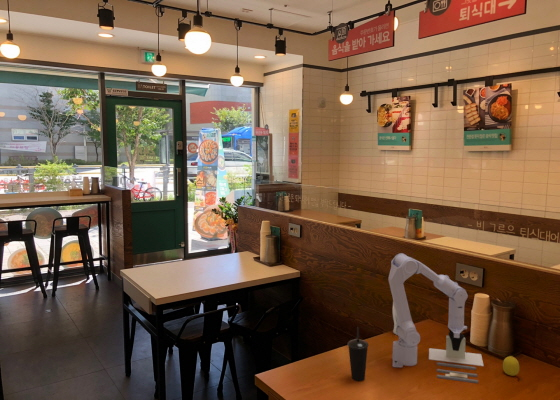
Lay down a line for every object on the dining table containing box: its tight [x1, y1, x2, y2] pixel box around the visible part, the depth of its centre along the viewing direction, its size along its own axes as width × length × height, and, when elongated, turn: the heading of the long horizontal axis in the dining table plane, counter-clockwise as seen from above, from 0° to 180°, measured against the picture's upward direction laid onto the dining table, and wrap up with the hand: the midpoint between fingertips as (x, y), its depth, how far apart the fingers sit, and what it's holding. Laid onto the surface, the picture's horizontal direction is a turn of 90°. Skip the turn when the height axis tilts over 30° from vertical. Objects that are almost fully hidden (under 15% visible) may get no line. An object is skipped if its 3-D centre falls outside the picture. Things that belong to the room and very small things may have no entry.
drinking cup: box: [347, 326, 369, 382], centre depth 169 cm, size 8×8×20 cm
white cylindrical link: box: [392, 301, 398, 336], centre depth 209 cm, size 7×7×15 cm
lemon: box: [502, 355, 520, 377], centre depth 169 cm, size 6×6×8 cm
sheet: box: [445, 335, 466, 359], centre depth 182 cm, size 7×2×8 cm, turn 71°
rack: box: [436, 361, 479, 384], centre depth 170 cm, size 14×12×2 cm
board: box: [428, 348, 484, 367], centre depth 183 cm, size 20×10×2 cm, turn 71°
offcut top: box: [450, 372, 469, 379], centre depth 167 cm, size 6×2×1 cm, turn 71°
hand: (455, 347), depth 182 cm, fingers open, 4 cm apart
